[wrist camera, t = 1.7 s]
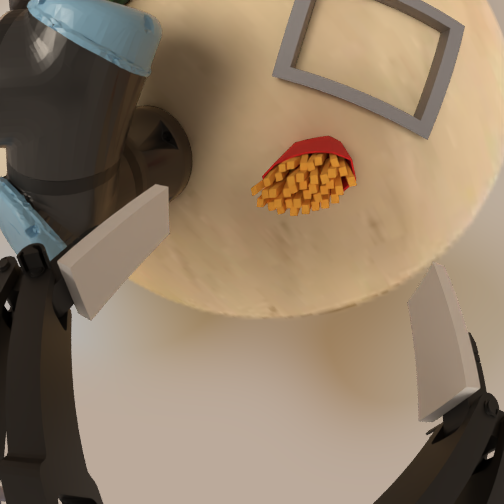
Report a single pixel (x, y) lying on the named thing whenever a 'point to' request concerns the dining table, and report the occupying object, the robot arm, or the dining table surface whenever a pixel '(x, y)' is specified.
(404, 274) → the dining table surface
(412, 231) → the dining table surface
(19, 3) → the coffee jar
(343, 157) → the french fries
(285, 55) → the gray square frame
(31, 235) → the robot arm
